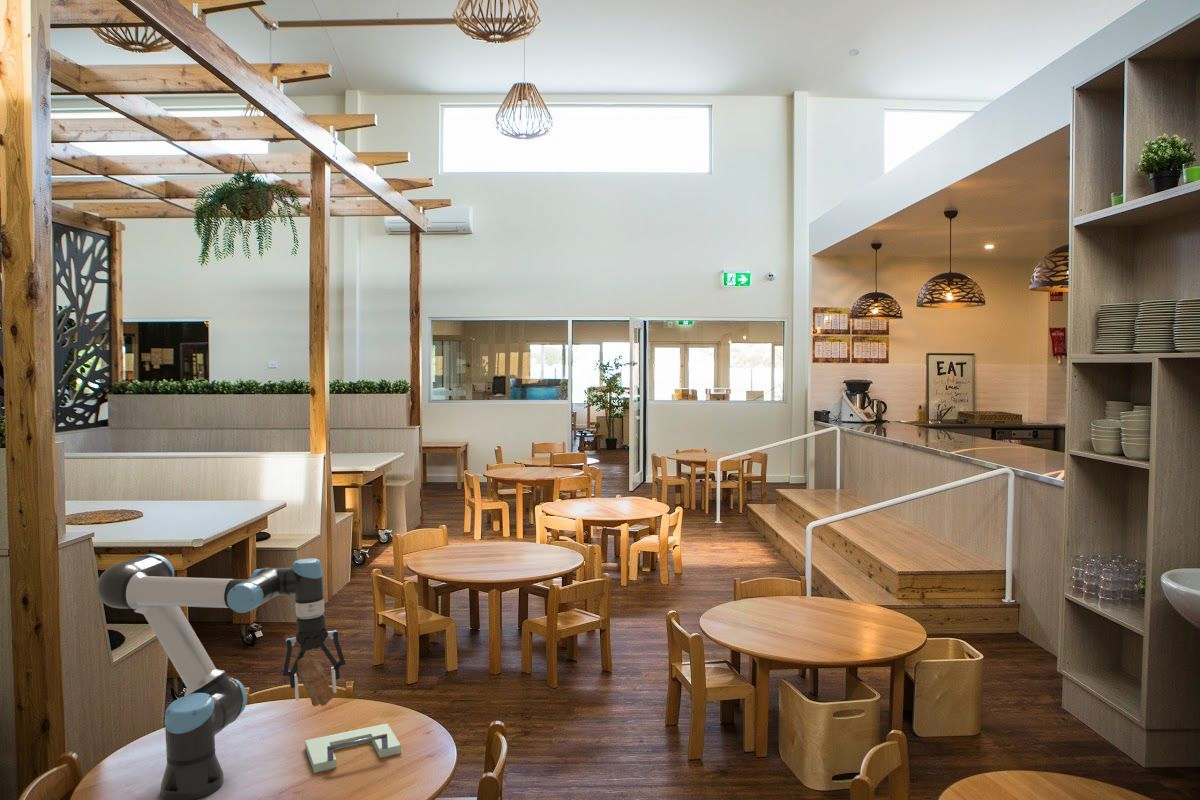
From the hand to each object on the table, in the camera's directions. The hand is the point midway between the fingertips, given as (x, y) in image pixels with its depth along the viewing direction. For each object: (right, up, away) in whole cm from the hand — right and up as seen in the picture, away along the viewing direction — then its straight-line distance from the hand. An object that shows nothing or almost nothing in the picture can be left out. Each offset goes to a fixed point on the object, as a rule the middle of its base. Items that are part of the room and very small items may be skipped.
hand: (316, 694), depth 234 cm
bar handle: (+11, -18, +3) cm, 21 cm away
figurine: (0, -3, 0) cm, 3 cm away
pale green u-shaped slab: (+7, -20, +10) cm, 24 cm away
